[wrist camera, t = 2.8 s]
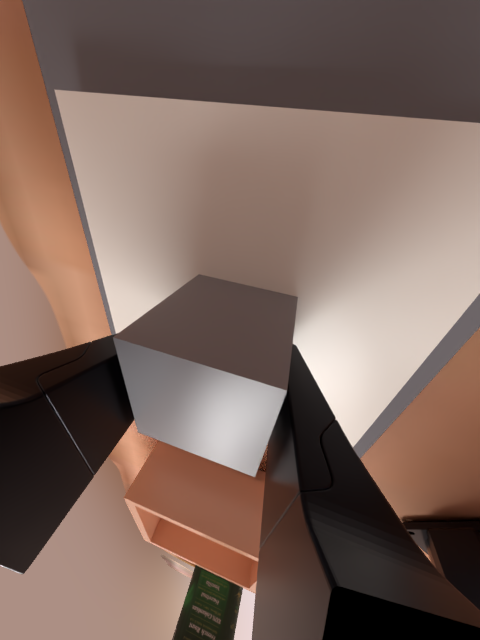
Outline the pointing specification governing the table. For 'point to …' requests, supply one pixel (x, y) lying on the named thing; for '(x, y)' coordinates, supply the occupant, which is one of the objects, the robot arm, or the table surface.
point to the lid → (271, 256)
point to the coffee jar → (209, 608)
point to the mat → (273, 77)
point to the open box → (200, 512)
